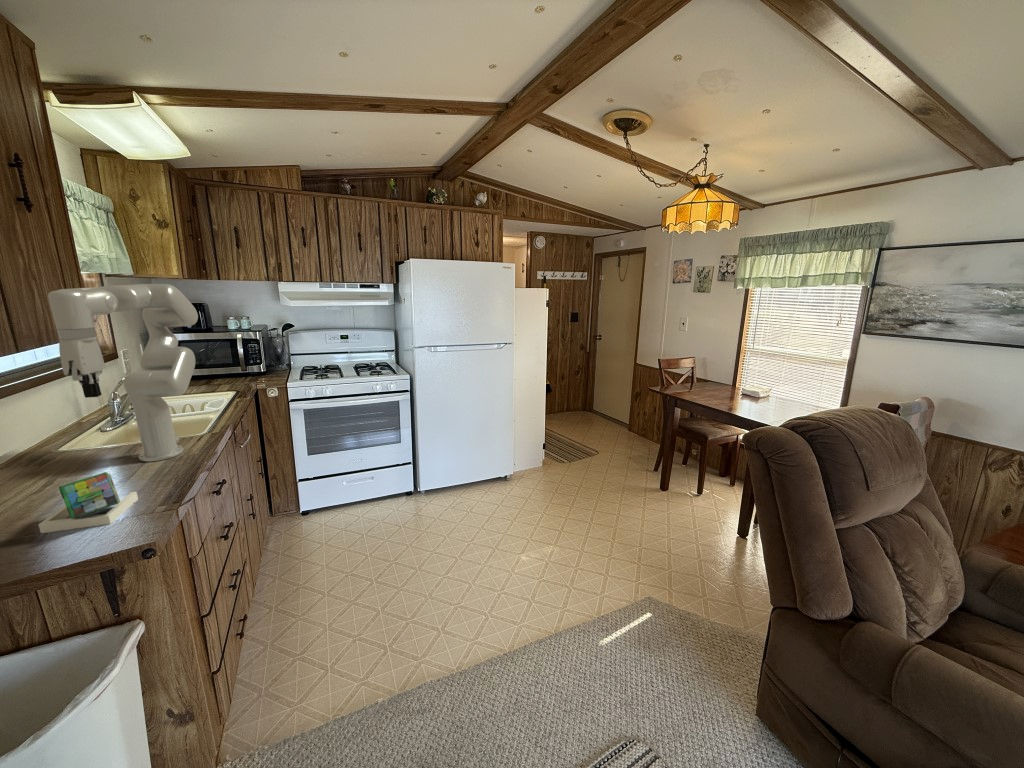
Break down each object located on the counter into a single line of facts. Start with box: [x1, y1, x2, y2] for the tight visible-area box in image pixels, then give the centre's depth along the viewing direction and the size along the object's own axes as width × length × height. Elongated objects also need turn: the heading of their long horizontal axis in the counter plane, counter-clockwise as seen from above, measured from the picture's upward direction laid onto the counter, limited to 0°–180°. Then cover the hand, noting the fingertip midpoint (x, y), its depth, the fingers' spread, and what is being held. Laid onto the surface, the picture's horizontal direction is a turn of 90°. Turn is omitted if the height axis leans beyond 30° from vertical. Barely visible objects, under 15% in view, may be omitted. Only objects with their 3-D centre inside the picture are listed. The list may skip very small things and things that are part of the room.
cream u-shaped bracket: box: [38, 491, 139, 534], centre depth 113 cm, size 13×14×2 cm
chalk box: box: [58, 471, 121, 519], centre depth 109 cm, size 9×9×15 cm
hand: (93, 396), depth 122 cm, fingers closed
